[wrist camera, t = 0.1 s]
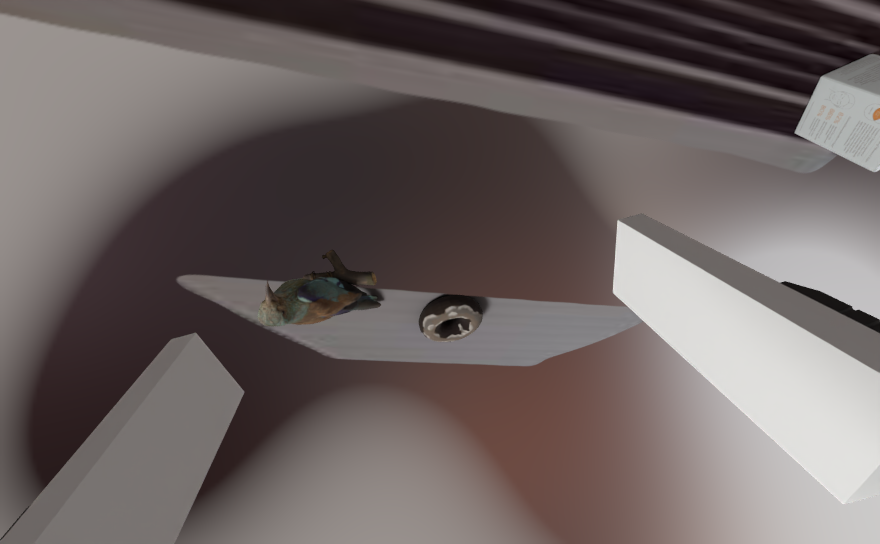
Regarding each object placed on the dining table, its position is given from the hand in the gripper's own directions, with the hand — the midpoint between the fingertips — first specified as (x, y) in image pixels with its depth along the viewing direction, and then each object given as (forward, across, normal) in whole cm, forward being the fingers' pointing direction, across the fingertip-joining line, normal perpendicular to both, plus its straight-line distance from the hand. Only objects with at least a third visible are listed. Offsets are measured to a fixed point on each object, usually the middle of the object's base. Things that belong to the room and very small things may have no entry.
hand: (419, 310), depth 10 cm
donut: (+40, +1, -31) cm, 51 cm away
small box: (+31, +55, -7) cm, 63 cm away
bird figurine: (+34, -13, -14) cm, 39 cm away
